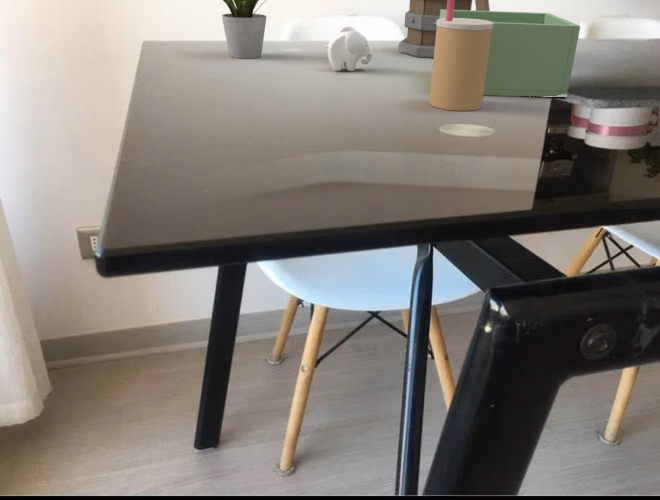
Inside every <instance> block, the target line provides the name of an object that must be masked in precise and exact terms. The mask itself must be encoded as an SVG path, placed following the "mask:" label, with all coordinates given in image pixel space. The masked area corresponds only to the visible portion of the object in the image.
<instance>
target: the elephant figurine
mask: <svg viewBox="0 0 660 500" xmlns="http://www.w3.org/2000/svg"><path fill="white" fill-rule="evenodd" d="M320 45H321V46H323V47H325V48H326V49H327V51H326V53H327V58H328V61H329V65H330V67H331V68H332V70H333V71H334V72H342V70H343V68H345V69H346V70H347V71H348V72H354V71H355V70H356V66H357V63H358V60H359V59H360V58H361V57H365V58H366V59H361V60H360V62H361V63H362V65H368V64H369V63H370V62H371V61H372V59H373V58H375V57H374V56H373V52H372V50H371V48H370V45H369V41H368V39H367V38H366V36H365V35H364V34H362V32H359V31H358V30H356V29H355V27H352V26H351V25H347V26H344V27H342V28H341V30H340V32H338V33H336V34H334V35H333V36H332V37H331V38H330V39H329V42H328V44H326V45H325V44H323V43H320ZM343 66H344V67H343Z"/></svg>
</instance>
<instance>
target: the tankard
mask: <svg viewBox="0 0 660 500" xmlns="http://www.w3.org/2000/svg"><path fill="white" fill-rule="evenodd" d="M474 3H475V11H491V10H490V1H489V0H474ZM472 5H473V0H455V3H454V10H472V7H473V6H472ZM408 8H409V9H408V11H406V12H405V15H404V28H407V32H406V33H407V35H406V37H405V38H403V39H402V40H401V41H400V42H399V43H398V52H399V53H400V54H404V55H408V56H411V57H416V58H426V59H434V50H435V40H436V30H437V26H436V20H437V19H439V18H440V9H445V10H447V0H409V7H408Z"/></svg>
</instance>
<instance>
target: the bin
mask: <svg viewBox="0 0 660 500" xmlns="http://www.w3.org/2000/svg"><path fill="white" fill-rule="evenodd" d="M442 18H446V10H445V9H440V18H439V19H442ZM453 18H468V19H480V20H487V21H491V22H493V23H494V25H493V29H492V33H491V40H490V48H489V55H488V63H487V70H486V78H485V85H484V93H483V96H496V97H497V96H499V97H500V96H501V97H502V96H503V97H521V96H529V97H528V98H535V97H534V96H537V97H536V98H542V97H541V96H557V95H561V94H567V95H568V92H569V88H570V82H571V77H572V72H573V67H574V61H575V57H576V51H577V46H578V40H579V36H580V31H581V25H580V24H577V23H575V22H571V21H569V20H567V19H564V18H562V17H561V16H557V15H555V14H552V13H550V12H530V11H529V12H528V11H499V10H497V11H496V10H490V11H476V10H473V9H471V10H454V12H453ZM531 96H533V97H531ZM538 96H540V97H538Z"/></svg>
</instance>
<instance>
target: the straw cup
mask: <svg viewBox="0 0 660 500" xmlns="http://www.w3.org/2000/svg"><path fill="white" fill-rule="evenodd" d="M454 3H455V0H447V10H446V18H442V19H437V20H436V26H437V30H436V40H435V50H434V58H433V61H432V71H431V83H430V94H429V102H428V103H429V105H430V106H431V107H434V108H437V109H441V110H446V111H455V112H468V111H469V112H470V111H471V112H472V111H476V110H479V109H481V108H482V106H483V99H484V95H483V93H484V85H485V78H486V70H487V63H488V55H489V48H490V40H491V33H492V29H493V25H494V23H493V22H491V21H487V20H480V19H468V18H453V12H454Z"/></svg>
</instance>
